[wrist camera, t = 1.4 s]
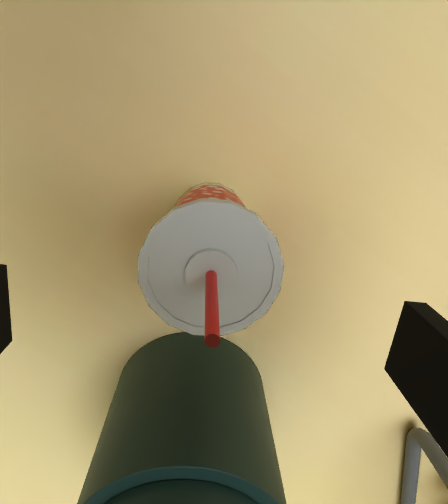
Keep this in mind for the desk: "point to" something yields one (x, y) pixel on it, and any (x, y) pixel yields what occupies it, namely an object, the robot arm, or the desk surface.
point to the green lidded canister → (186, 430)
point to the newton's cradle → (414, 443)
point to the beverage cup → (210, 264)
